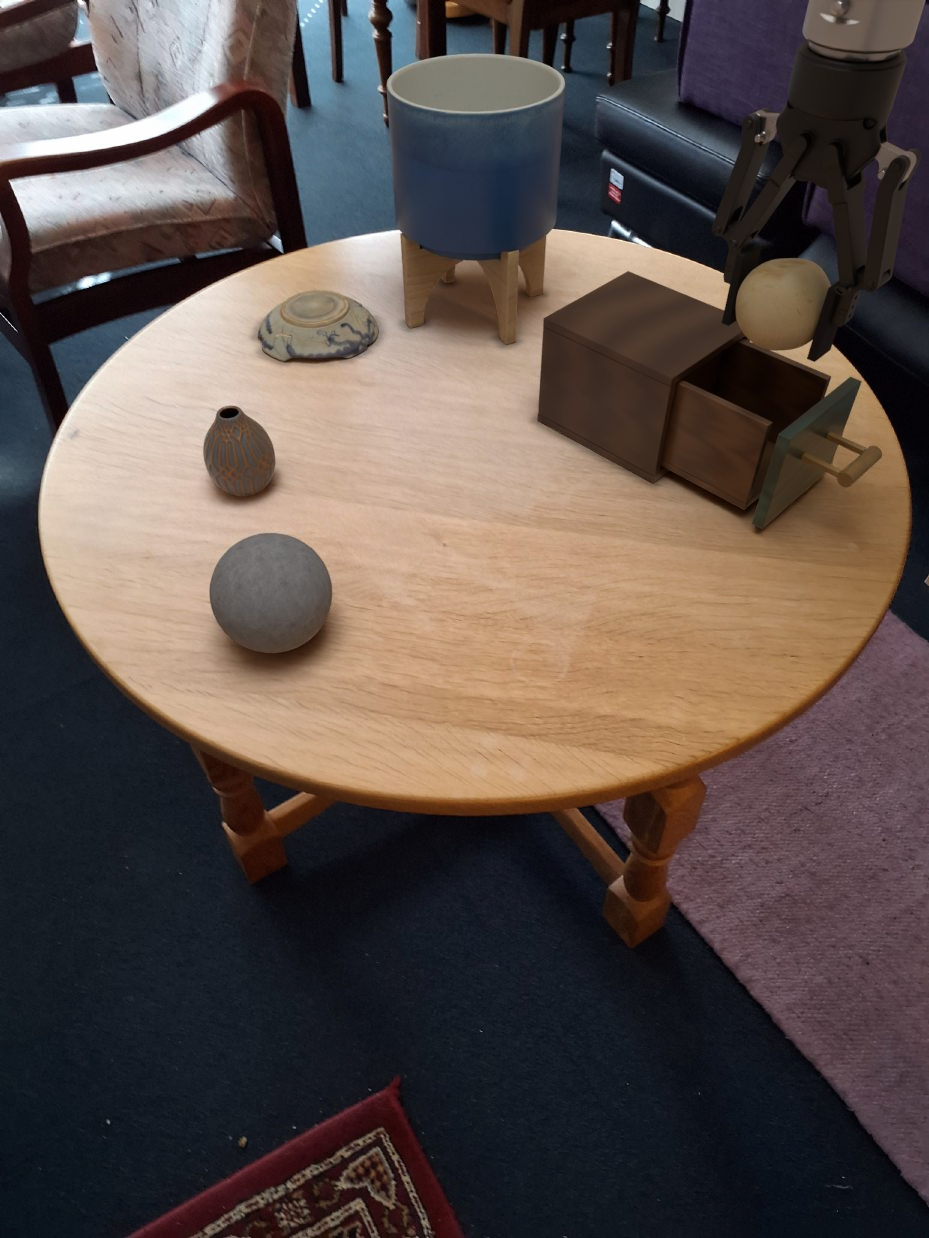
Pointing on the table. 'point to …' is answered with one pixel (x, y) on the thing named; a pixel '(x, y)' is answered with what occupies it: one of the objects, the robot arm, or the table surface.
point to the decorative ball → (270, 592)
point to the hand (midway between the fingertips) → (774, 336)
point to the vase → (238, 453)
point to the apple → (781, 303)
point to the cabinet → (625, 366)
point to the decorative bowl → (317, 327)
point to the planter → (475, 173)
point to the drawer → (760, 429)
